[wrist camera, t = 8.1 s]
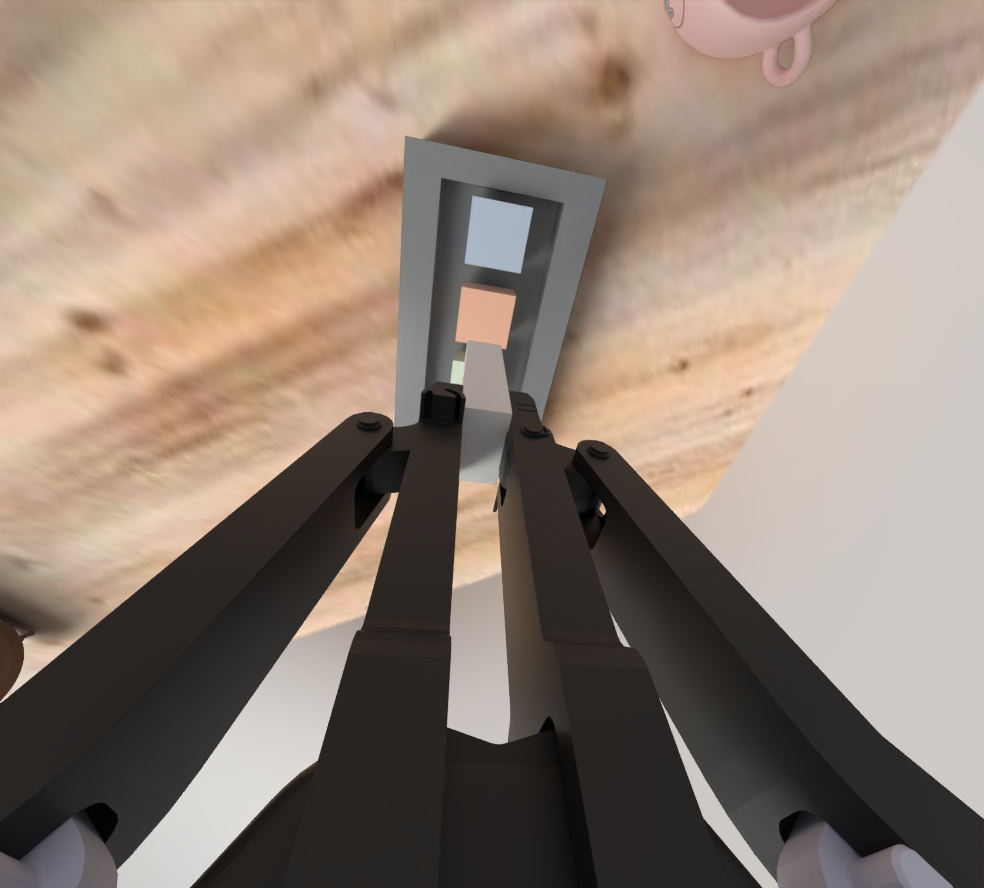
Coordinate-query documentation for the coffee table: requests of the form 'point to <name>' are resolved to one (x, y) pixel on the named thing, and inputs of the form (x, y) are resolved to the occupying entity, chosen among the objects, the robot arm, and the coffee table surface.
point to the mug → (750, 30)
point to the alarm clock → (10, 656)
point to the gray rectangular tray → (442, 269)
